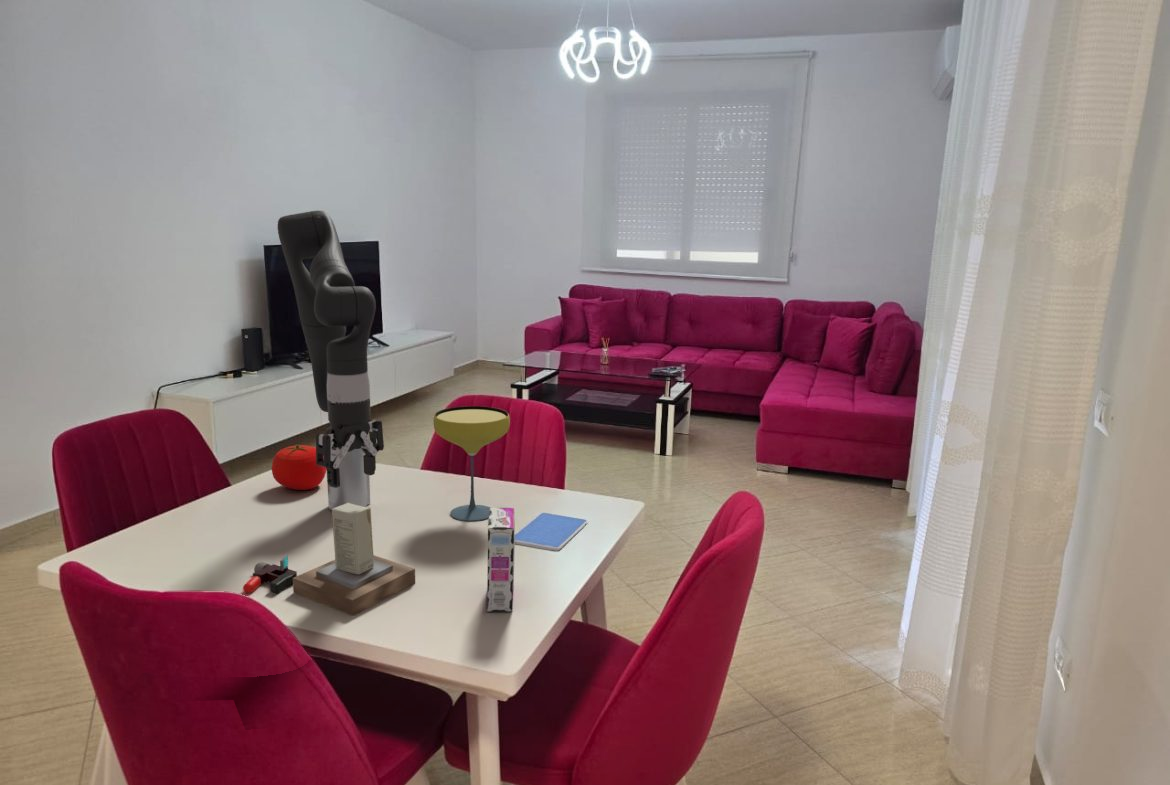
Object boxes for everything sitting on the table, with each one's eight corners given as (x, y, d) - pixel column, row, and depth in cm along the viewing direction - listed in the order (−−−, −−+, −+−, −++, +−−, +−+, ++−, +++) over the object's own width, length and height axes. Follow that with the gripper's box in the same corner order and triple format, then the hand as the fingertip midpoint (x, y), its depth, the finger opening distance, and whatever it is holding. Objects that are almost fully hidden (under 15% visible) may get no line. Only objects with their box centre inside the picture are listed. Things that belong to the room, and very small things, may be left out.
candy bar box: (514, 612, 142) (514, 528, 139) (486, 613, 142) (486, 528, 138) (514, 585, 153) (514, 506, 150) (488, 585, 153) (488, 506, 149)
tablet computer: (541, 516, 192) (541, 511, 192) (589, 523, 188) (589, 518, 187) (506, 544, 174) (506, 539, 174) (558, 554, 170) (559, 548, 170)
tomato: (337, 484, 210) (336, 442, 207) (300, 499, 198) (298, 455, 195) (301, 477, 215) (299, 436, 213) (262, 491, 203) (260, 448, 200)
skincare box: (374, 567, 150) (373, 507, 148) (358, 576, 146) (356, 514, 144) (350, 560, 153) (348, 501, 151) (333, 568, 149) (331, 508, 147)
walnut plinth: (357, 563, 161) (357, 545, 160) (415, 582, 153) (415, 563, 152) (293, 592, 148) (292, 573, 147) (353, 615, 140) (352, 595, 139)
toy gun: (263, 569, 158) (261, 546, 157) (305, 583, 153) (303, 560, 152) (221, 587, 150) (219, 564, 149) (263, 603, 144) (262, 578, 143)
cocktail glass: (522, 518, 189) (523, 417, 184) (454, 532, 179) (453, 427, 174) (488, 496, 203) (488, 403, 198) (423, 508, 193) (421, 410, 188)
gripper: (363, 387, 150) (366, 467, 154) (303, 400, 138) (307, 487, 142) (391, 392, 147) (394, 474, 150) (332, 406, 135) (336, 495, 138)
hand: (352, 480), depth 146 cm, fingers open, 8 cm apart
